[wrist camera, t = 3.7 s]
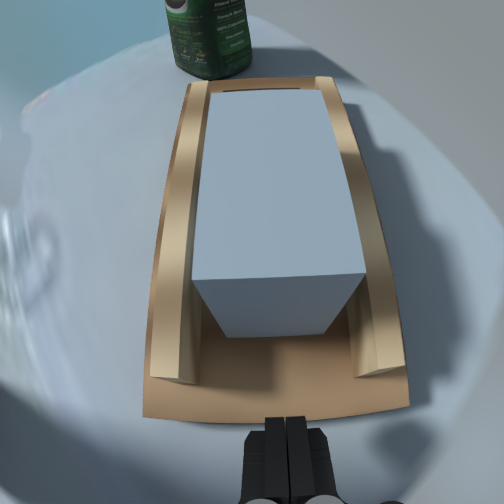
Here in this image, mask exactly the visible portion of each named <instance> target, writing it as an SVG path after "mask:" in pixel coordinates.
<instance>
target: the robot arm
mask: <svg viewBox="0 0 504 504" xmlns="http://www.w3.org/2000/svg"><path fill="white" fill-rule="evenodd" d="M238 504H347V503H345V502H344V501H342V500H341V499H340V497H339V496H338V494H337V491H336V485H335V479H334V474H333V468H332V463H331V459H330V452H329V447H328V441H327V437H326V436H325V434H324V433H323V432H322V431H321V429H320V428H310V429H307V425H306V418H305V416H290V417H285V421H284V417H265V431H250V433H249V435H248V436H247V438H246V440H245V442H244V458H243V474H242V490H241V499H240V502H239V503H238ZM381 504H403V503H401V502H398V501H387V502H383V503H381Z"/></svg>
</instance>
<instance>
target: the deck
mask: <svg viewBox="0 0 504 504" xmlns="http://www.w3.org/2000/svg"><path fill="white" fill-rule="evenodd" d="M286 89H304V90H321V92H322V95H323V98H324V101H325V104H326V108H327V111H328V114H329V117H330V120H331V124H332V127H333V130H334V134H335V137H336V141H337V144H338V148H339V152H340V155H341V159H342V163H343V166H344V170H345V174H346V178H347V182H348V186H349V190H350V195H351V199H352V203H353V207H354V212H355V217H356V221H357V226H358V231H359V236H360V241H361V246H362V251H363V256H364V262H365V267H366V274H365V276H364V277H363V279H362V280H361V282H360V283H359V285H358V286H357V288H356V289H355V291H354V292H353V293H352V295H351V296H350V298H349V299H348V301H347V302H346V304H345V305H344V306H343V308H342V309H341V311H340V312H339V313H338V315H337V316H336V318H335V319H334V320H333V322H332V323H331V324H330V326H329V327H328V328H327V330H326V331H325V333H324V334H316V335H299V336H279V337H250V338H227V337H226V335H225V334H224V332H223V331H222V329H221V327H220V326H219V324H218V323H217V321H216V319H215V318H214V316H213V315H212V313H211V311H210V310H209V308H208V306H207V305H206V303H205V301H204V300H203V298H202V296H201V295H200V293H199V291H198V290H197V288H196V286H195V285H194V283H193V281H192V266H193V253H194V240H195V228H196V217H197V206H198V196H199V186H200V177H201V168H202V159H203V151H204V142H205V135H206V127H207V119H208V112H209V105H210V98H211V93H222V92H236V91H253V90H286ZM406 406H410V404H409V390H408V378H407V367H406V358H405V349H404V341H403V334H402V327H401V320H400V313H399V307H398V301H397V296H396V290H395V285H394V279H393V274H392V269H391V264H390V260H389V255H388V251H387V246H386V242H385V237H384V233H383V229H382V225H381V221H380V217H379V213H378V210H377V206H376V202H375V199H374V195H373V191H372V188H371V184H370V181H369V178H368V174H367V171H366V168H365V165H364V162H363V158H362V155H361V152H360V149H359V146H358V143H357V140H356V137H355V135H354V132H353V129H352V126H351V123H350V121H349V118H348V115H347V112H346V110H345V107H344V105H343V102H342V99H341V97H340V94H339V92H338V89H337V87H336V84H335V82H334V80H333V78H332V77H321V76H316V77H266V78H244V79H230V80H218V81H208V80H207V81H198V82H192V83H190V84H188V87H187V90H186V94H185V98H184V102H183V106H182V110H181V114H180V119H179V123H178V127H177V132H176V136H175V141H174V145H173V150H172V155H171V160H170V165H169V170H168V175H167V180H166V185H165V191H164V197H163V202H162V208H161V214H160V221H159V227H158V234H157V240H156V248H155V255H154V263H153V271H152V279H151V288H150V297H149V308H148V319H147V331H146V345H145V361H144V383H143V417H146V418H155V419H165V420H177V421H190V422H210V423H265V417H284V421H285V417H290V416H305V418H306V421H308V420H320V419H330V418H339V417H347V416H354V415H361V414H368V413H374V412H380V411H386V410H391V409H396V408H401V407H406Z"/></svg>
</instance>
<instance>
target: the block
mask: <svg viewBox="0 0 504 504" xmlns="http://www.w3.org/2000/svg"><path fill="white" fill-rule="evenodd" d="M365 274H366V267H365V262H364V256H363V251H362V246H361V241H360V236H359V231H358V226H357V221H356V217H355V212H354V207H353V203H352V199H351V195H350V190H349V186H348V182H347V178H346V174H345V170H344V166H343V163H342V159H341V155H340V152H339V148H338V144H337V141H336V137H335V134H334V130H333V127H332V124H331V120H330V117H329V114H328V111H327V108H326V104H325V101H324V98H323V95H322V92H321V90H304V89H286V90H253V91H236V92H222V93H211V98H210V105H209V112H208V119H207V127H206V135H205V142H204V151H203V159H202V168H201V177H200V186H199V196H198V206H197V217H196V228H195V240H194V253H193V266H192V281H193V283H194V285H195V286H196V288H197V290H198V291H199V293H200V295H201V296H202V298H203V300H204V301H205V303H206V305H207V306H208V308H209V310H210V311H211V313H212V315H213V316H214V318H215V319H216V321H217V323H218V324H219V326H220V327H221V329H222V331H223V332H224V334H225V335H226V337H227V338H250V337H279V336H299V335H316V334H324V333H325V331H326V330H327V328H328V327H329V326H330V324H331V323H332V322H333V320H334V319H335V318H336V316H337V315H338V313H339V312H340V311H341V309H342V308H343V306H344V305H345V304H346V302H347V301H348V299H349V298H350V296H351V295H352V293H353V292H354V291H355V289H356V288H357V286H358V285H359V283H360V282H361V280H362V279H363V277H364V276H365Z"/></svg>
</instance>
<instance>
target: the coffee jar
mask: <svg viewBox="0 0 504 504" xmlns="http://www.w3.org/2000/svg"><path fill="white" fill-rule="evenodd" d="M164 1H165V7H166V13H167V18H168V23H169V29H170V36H171V42H172V48H173V53H174V58H175V62H176V65H177V66H178V67H179V68H180V69H182V70H183V71H185V72H187V73H190V74H192V75H195V76H197V77H200V78H204V79H216V78H220V77H225V76H230V75H233V74H235V73H238V72H239V71H241V70H243V69H244V68H245V67H246V66H248V65H249V64H250V63H251V61H252V48H251V39H250V33H249V28H248V22H247V15H246V8H245V1H244V0H164Z"/></svg>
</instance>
